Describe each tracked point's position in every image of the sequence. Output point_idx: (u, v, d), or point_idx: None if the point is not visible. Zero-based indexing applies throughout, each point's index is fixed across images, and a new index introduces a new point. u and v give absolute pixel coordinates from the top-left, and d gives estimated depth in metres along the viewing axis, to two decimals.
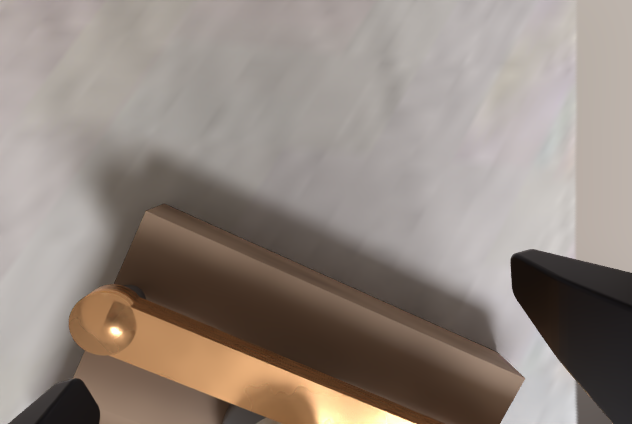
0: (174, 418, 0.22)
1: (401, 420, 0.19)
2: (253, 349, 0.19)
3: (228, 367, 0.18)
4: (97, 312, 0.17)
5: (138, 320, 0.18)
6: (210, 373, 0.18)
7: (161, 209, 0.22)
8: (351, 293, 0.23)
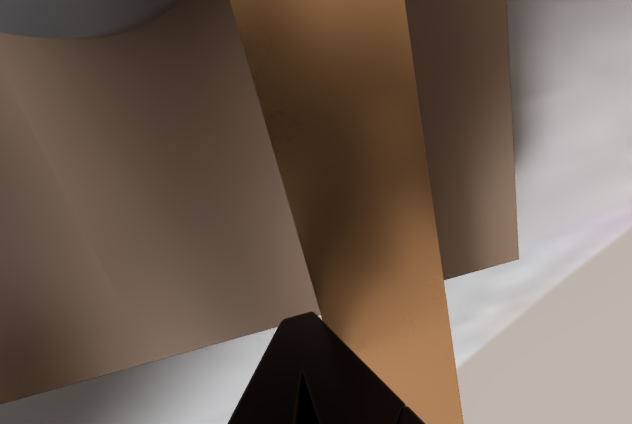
0: None
1: (397, 9, 0.06)
2: None
3: None
4: None
5: None
6: None
7: None
8: None
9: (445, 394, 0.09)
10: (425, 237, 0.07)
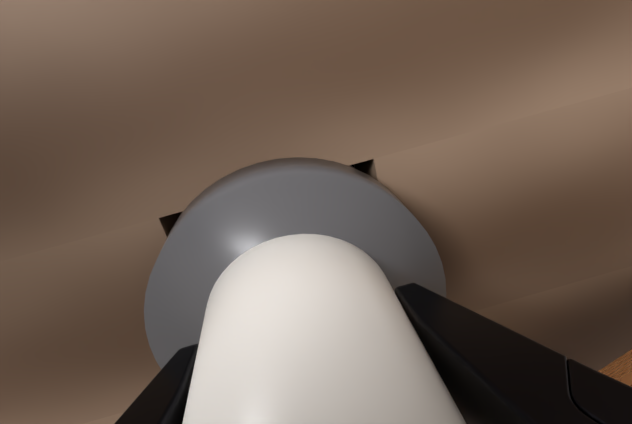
0: (502, 163, 0.10)
1: None
2: None
3: None
4: None
5: None
6: None
7: None
8: None
9: None
10: None
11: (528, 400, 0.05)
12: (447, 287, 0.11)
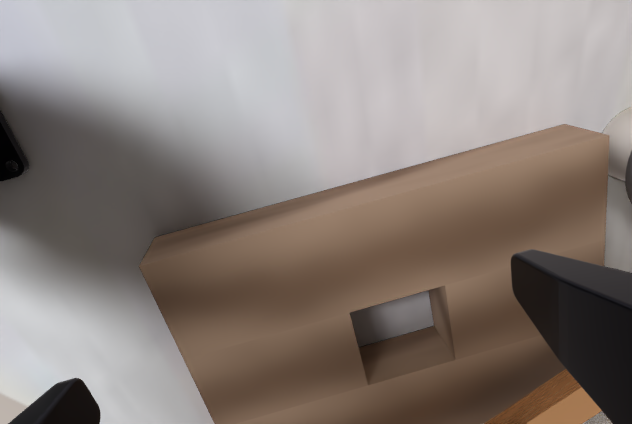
0: (503, 284, 0.21)
1: None
2: None
3: None
4: None
5: None
6: None
7: None
8: None
9: None
10: None
11: None
12: (476, 339, 0.22)
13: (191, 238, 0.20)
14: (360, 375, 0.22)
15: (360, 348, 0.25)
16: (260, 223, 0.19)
